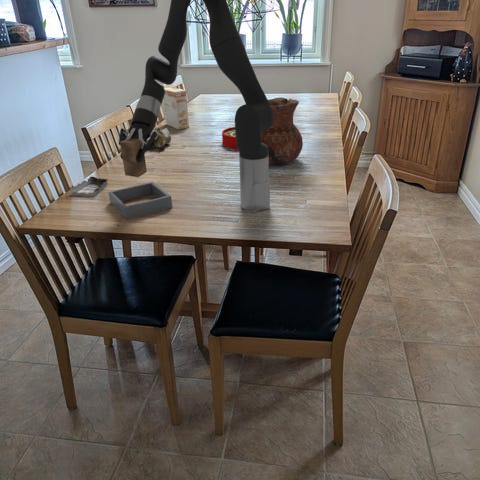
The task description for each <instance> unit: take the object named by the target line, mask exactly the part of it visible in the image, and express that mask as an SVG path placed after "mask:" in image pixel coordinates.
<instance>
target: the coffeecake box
mask: <svg viewBox="0 0 480 480" xmlns="http://www.w3.org/2000/svg"><path fill="white" fill-rule="evenodd" d="M163 88H164V89H165V95H164V98H163V107H164V115H165V123H166V125H167V126H169V127H172V128H173V129H177V130H181V129H183V130H184V129H188V127H189V128H190V123H189V112H188V111H189V110H188V98H187V90H186V89H181V88H177V87H172V86H171V87H166V88H165V87H163Z"/></svg>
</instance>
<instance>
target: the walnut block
mask: <svg viewBox="0 0 480 480" xmlns="http://www.w3.org/2000/svg"><path fill="white" fill-rule="evenodd" d="M140 144H141V140H139V139H136V138H130V139H126V140H123V141H121V142H120V145H119V146H120V150H121V152H122V158H123V160H122V164H123V170H124V174H125V175H124V176H127V177H135V178H140V177H141V176H142V175H145V174H146V173H148V171H147V163H146V156H145V154H146V153H145V154H144V157H143V160H142V161H141V162H137V161H136V156H137V153H138V150H139V149H140ZM121 152H120V153H121Z"/></svg>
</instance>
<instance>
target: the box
mask: <svg viewBox="0 0 480 480" xmlns="http://www.w3.org/2000/svg"><path fill="white" fill-rule="evenodd" d="M148 195H153V196H155V197H156V198H154V199H153V198H152V199H148V200H146V201H142V202H138V203H134V204H130V205H129V204H128V205H126V204H125V203H124V201H128V200H131V199H136V198H140V197H144V196H148ZM108 196H109V203H110V204H111V206H113V207H114V208H115V209H116V210H117V211H118V213H120V215H121V216H122V217H123V218H124V219H125V220H129V219H133V218H137V217H141V216H145V215H148V214H149V215H150V214H153V213H155V212H159V211H163V210H167V209H170V208H173V201H172V199H173V198H172V196H171V195H170V194H169V193H168V192H166V191H165V190H164V189H163V188H162V187H160V186H158V184H156V183H155V182H154V181H149V182H145V183H141V184H137V185H132V186H127V187H125V188H120V189H115V190H112V191H108Z"/></svg>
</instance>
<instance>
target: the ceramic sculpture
mask: <svg viewBox="0 0 480 480" xmlns="http://www.w3.org/2000/svg"><path fill="white" fill-rule="evenodd" d="M155 132H156V133H157V134H158V135H159V136H160V137H159V139H158V141H157V142H156V144H155V146H154V148H157V149H160V150H161V149H163V148H165V146H166V145H168V144H170V143H171V142H172V141H171V140H172V136H171V133H170V132H169V130H168V128H167V127H165V128H163V129H161V128H157V129H156V130H155Z"/></svg>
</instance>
